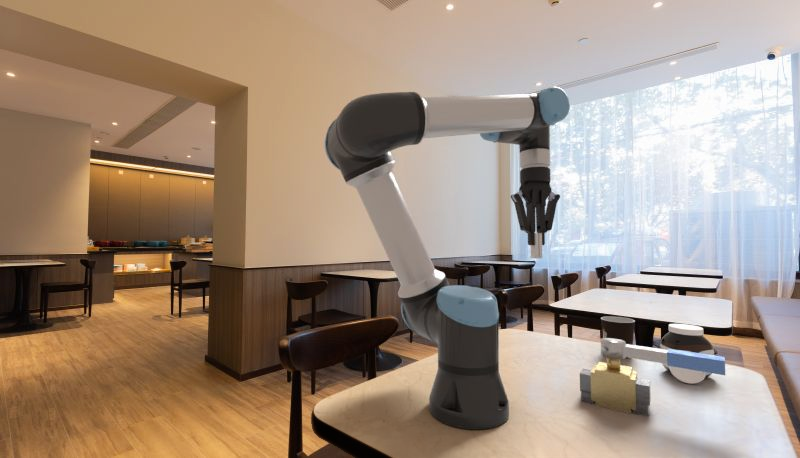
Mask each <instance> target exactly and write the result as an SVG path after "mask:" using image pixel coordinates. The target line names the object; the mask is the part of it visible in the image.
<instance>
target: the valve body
mask: <svg viewBox="0 0 800 458" xmlns="http://www.w3.org/2000/svg"><path fill="white" fill-rule="evenodd" d="M579 391H580V399H581V400H580V401H581V402H584V403H589V404H593V405H594V404H595V406H597V407H603V408H606V409H611V410H614V411H615V410H616V411H619V412H625V413H628V414H632V413H633V414H637V415H638V414H639V415H643V416H646V417H648V416H649V411H650V406H651V396H652V395H651V380H649V379H648V380H647V379H643V378H638V371H636V370H633V366H627V365H621V359H611V358H607V357H606V362H602V361H598V363H597V364H594V365H593V367H592V369H587V368H582V369H581V370H580V372H579Z"/></svg>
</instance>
